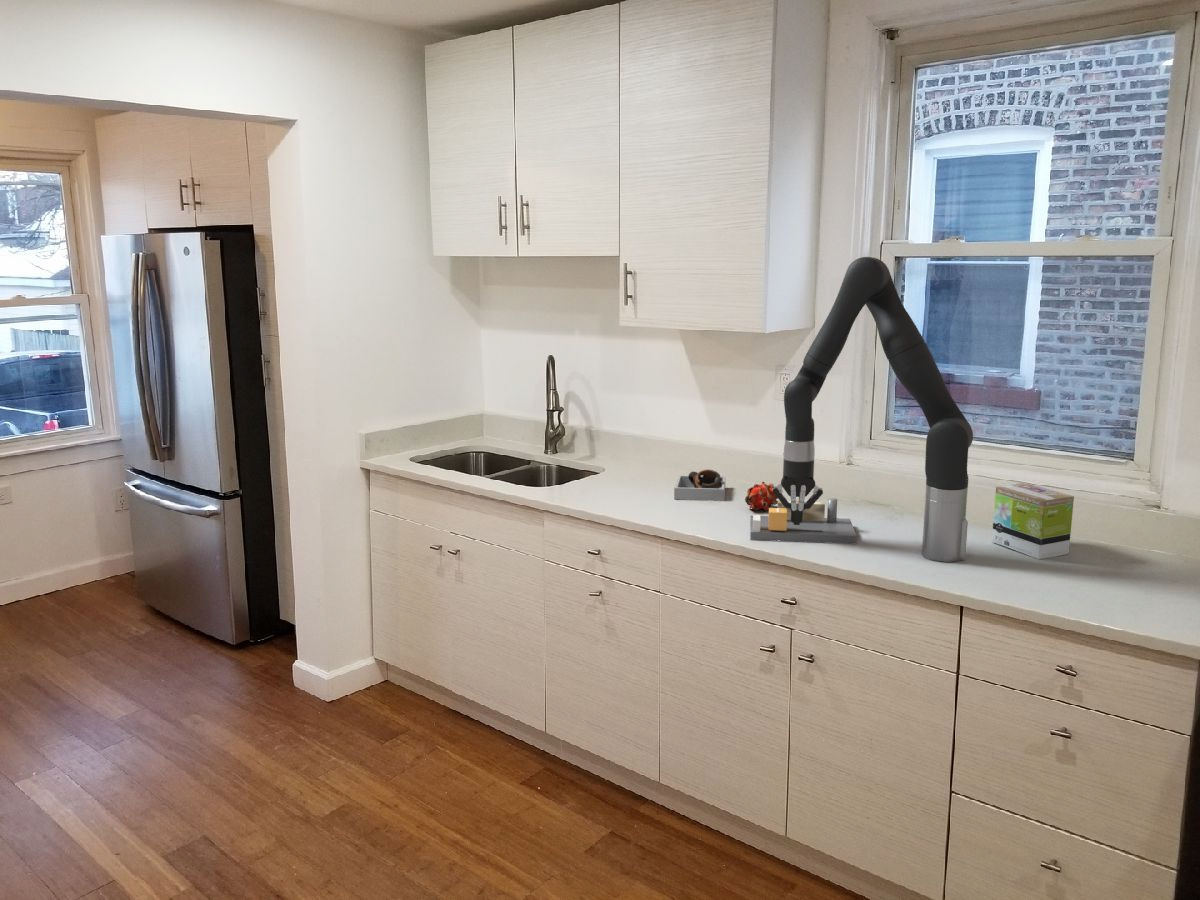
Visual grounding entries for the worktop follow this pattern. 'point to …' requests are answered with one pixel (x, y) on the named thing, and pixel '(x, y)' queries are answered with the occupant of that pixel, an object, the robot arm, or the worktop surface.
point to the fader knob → (778, 519)
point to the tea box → (1032, 520)
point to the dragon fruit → (761, 497)
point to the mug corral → (697, 490)
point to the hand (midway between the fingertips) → (796, 524)
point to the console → (807, 529)
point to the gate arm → (808, 511)
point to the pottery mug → (705, 479)
